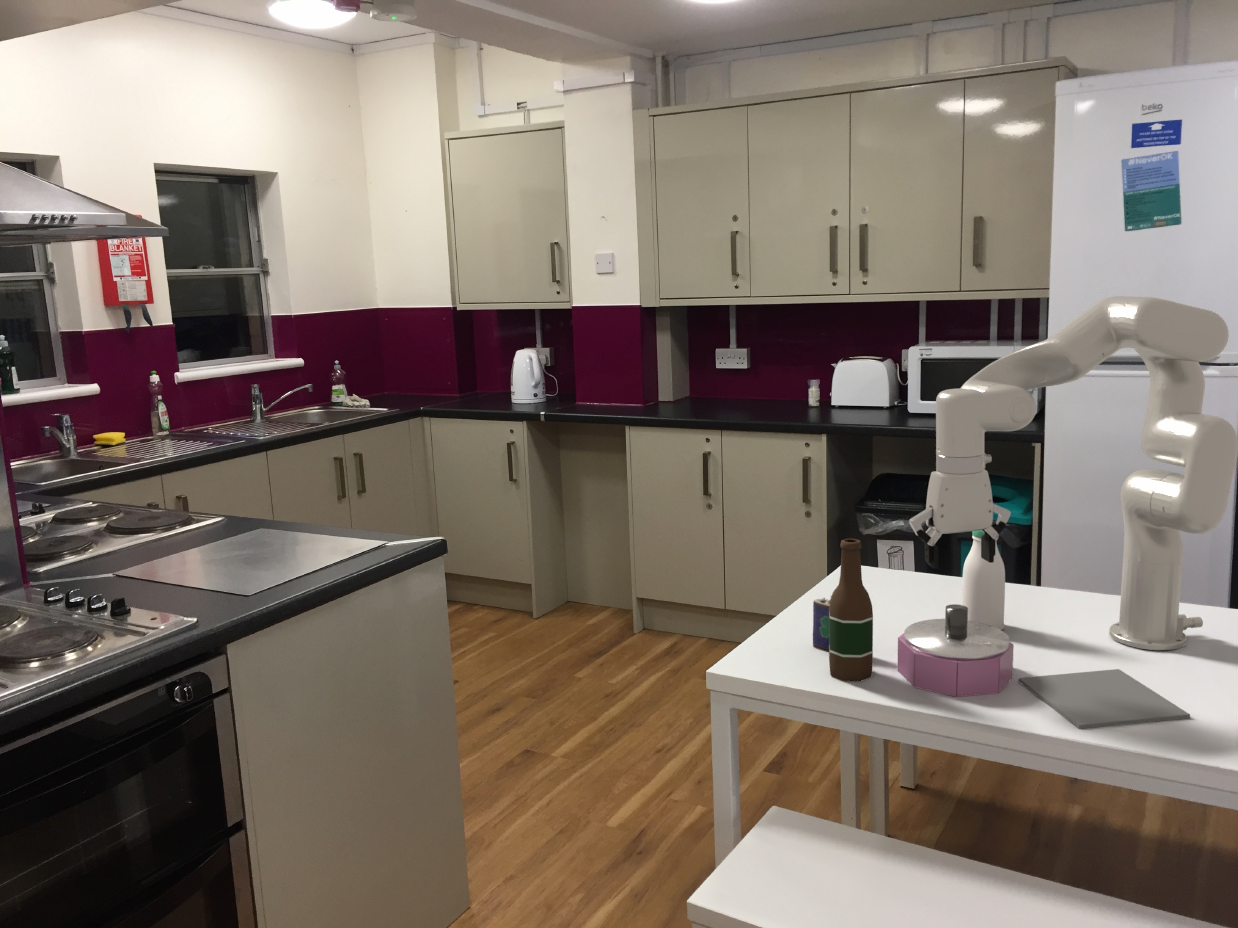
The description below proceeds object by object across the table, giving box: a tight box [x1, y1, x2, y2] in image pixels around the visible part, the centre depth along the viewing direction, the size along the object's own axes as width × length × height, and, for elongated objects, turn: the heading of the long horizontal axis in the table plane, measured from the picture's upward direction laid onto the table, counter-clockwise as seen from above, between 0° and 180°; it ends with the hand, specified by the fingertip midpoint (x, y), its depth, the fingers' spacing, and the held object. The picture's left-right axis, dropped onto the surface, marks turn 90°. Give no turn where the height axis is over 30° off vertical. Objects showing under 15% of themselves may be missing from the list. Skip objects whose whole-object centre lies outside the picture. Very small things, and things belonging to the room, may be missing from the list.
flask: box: [812, 594, 832, 653], centre depth 185 cm, size 9×3×11 cm, turn 50°
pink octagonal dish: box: [897, 633, 1015, 698], centre depth 173 cm, size 17×17×6 cm
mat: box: [1017, 668, 1191, 730], centre depth 162 cm, size 18×18×1 cm
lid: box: [904, 604, 1010, 661], centre depth 172 cm, size 17×17×6 cm
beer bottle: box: [828, 538, 874, 683], centre depth 173 cm, size 8×8×24 cm
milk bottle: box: [961, 530, 1006, 631], centre depth 193 cm, size 8×8×20 cm
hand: (960, 563), depth 170 cm, fingers open, 9 cm apart
